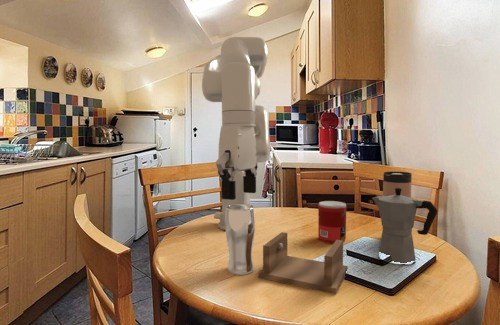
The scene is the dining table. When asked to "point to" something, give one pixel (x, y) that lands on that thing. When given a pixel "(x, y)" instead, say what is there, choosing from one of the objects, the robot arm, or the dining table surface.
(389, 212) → the coffeepot
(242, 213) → the beer glass
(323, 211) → the canned food
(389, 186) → the travel mug
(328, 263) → the holder
